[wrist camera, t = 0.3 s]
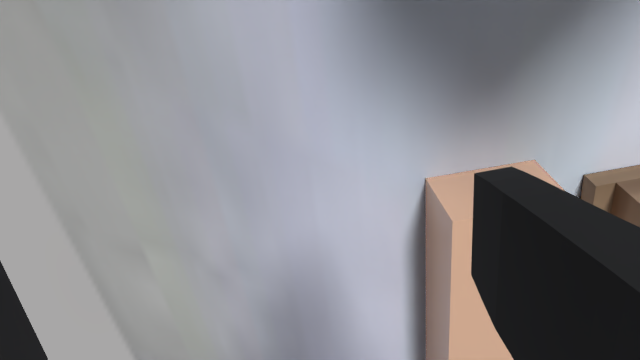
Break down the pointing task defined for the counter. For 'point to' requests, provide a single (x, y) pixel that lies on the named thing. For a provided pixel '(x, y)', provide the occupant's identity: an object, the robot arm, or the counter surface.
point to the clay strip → (458, 271)
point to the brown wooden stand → (615, 192)
